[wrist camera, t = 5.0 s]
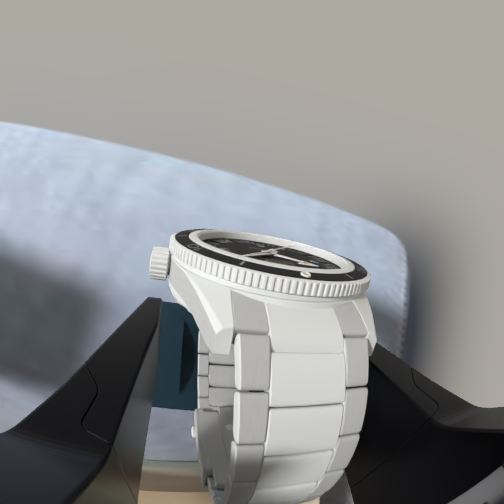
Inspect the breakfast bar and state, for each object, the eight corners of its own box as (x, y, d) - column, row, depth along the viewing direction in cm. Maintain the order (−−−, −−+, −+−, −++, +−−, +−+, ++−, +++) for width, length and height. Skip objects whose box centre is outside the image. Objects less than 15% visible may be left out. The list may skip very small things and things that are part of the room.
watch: (268, 284, 16) (413, 190, 6) (260, 431, 14) (402, 527, 4) (163, 271, 15) (164, 129, 5) (152, 426, 13) (133, 567, 3)
